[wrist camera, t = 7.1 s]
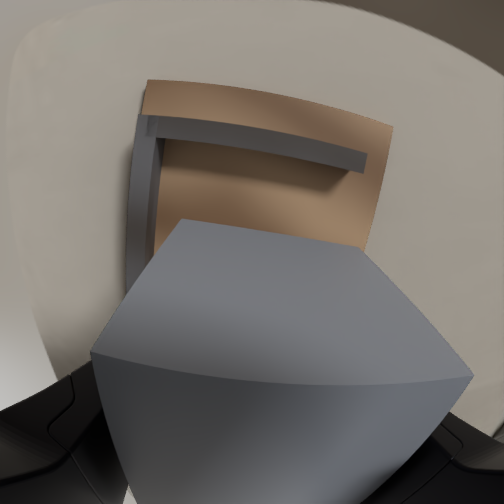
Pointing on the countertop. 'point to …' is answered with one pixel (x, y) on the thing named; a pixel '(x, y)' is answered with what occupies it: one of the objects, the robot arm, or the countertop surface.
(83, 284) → the countertop surface
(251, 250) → the block
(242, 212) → the dock
